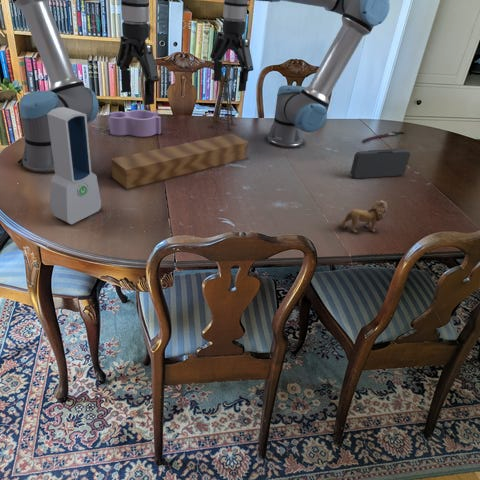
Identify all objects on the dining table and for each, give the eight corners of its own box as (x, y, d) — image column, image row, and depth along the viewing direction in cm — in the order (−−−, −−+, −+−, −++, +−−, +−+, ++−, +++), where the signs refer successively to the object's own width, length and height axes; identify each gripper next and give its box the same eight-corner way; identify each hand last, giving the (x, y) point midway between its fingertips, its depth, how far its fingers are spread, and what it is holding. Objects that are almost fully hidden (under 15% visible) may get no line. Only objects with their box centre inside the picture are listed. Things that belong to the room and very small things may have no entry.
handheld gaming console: (400, 172, 181) (407, 148, 176) (404, 175, 179) (412, 151, 174) (348, 175, 174) (354, 150, 169) (352, 179, 172) (358, 153, 167)
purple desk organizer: (111, 137, 184) (110, 120, 181) (108, 126, 194) (107, 110, 190) (162, 136, 191) (162, 119, 187) (156, 125, 200) (156, 109, 197)
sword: (401, 130, 224) (401, 128, 224) (406, 132, 222) (407, 130, 222) (357, 141, 209) (358, 139, 208) (363, 144, 207) (363, 141, 206)
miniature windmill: (228, 130, 204) (234, 58, 188) (210, 127, 205) (214, 55, 189) (233, 123, 211) (239, 54, 195) (215, 120, 212) (219, 51, 196)
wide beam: (126, 189, 150) (125, 169, 146) (112, 177, 156) (111, 158, 152) (246, 158, 180) (247, 141, 176) (230, 149, 185) (231, 133, 182)
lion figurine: (375, 222, 146) (382, 196, 141) (385, 230, 142) (393, 204, 137) (334, 226, 141) (341, 200, 136) (343, 236, 137) (350, 209, 132)
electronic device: (68, 226, 128) (55, 120, 112) (50, 217, 131) (34, 112, 115) (102, 209, 137) (94, 109, 121) (84, 201, 140) (74, 102, 124)
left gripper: (171, 30, 125) (170, 108, 137) (125, 14, 140) (128, 85, 152) (147, 31, 121) (148, 111, 133) (102, 14, 136) (106, 88, 148)
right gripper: (268, 26, 147) (261, 94, 158) (219, 13, 162) (215, 75, 173) (251, 27, 142) (244, 96, 154) (202, 13, 157) (199, 77, 169)
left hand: (137, 98), depth 142 cm, fingers open, 13 cm apart
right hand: (229, 85), depth 164 cm, fingers open, 13 cm apart
